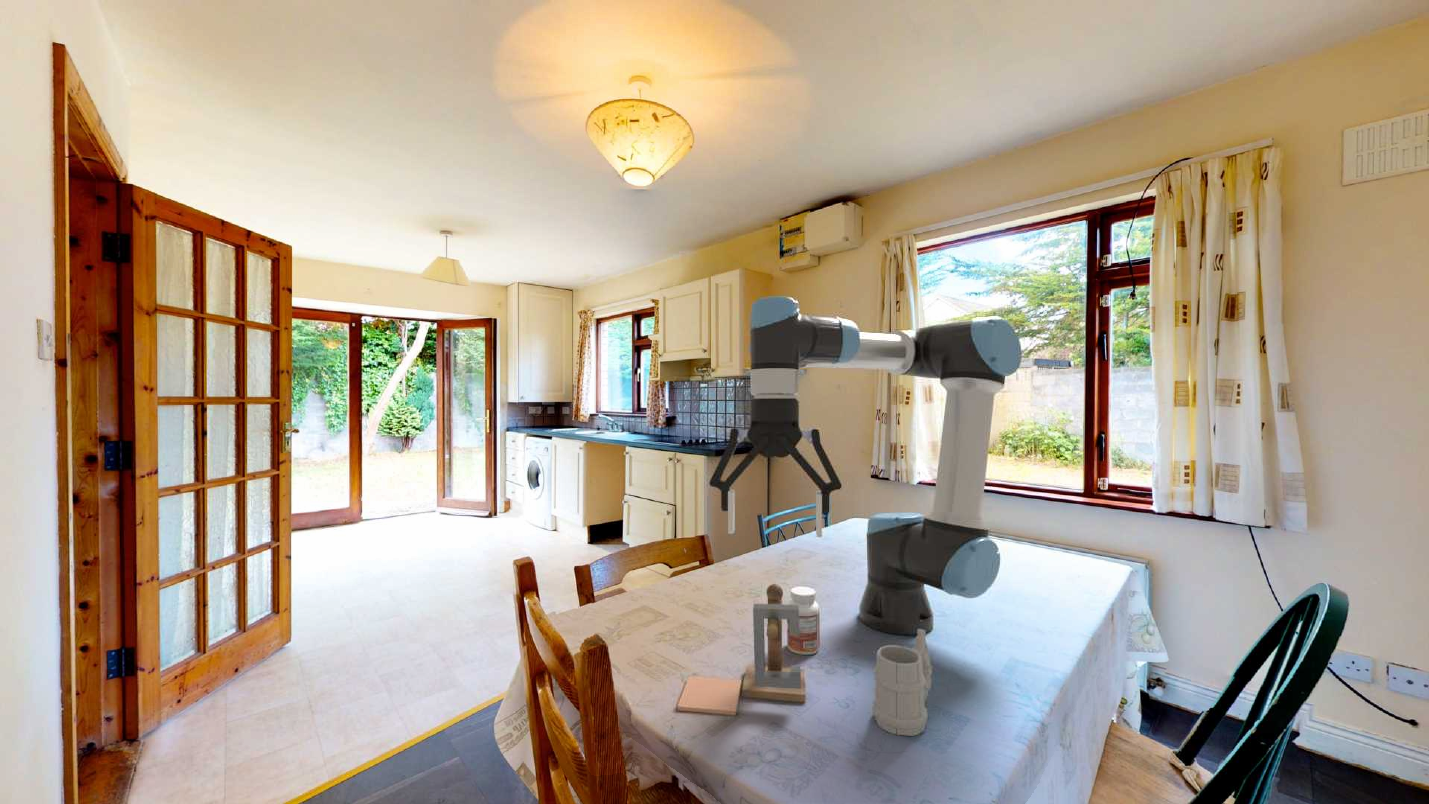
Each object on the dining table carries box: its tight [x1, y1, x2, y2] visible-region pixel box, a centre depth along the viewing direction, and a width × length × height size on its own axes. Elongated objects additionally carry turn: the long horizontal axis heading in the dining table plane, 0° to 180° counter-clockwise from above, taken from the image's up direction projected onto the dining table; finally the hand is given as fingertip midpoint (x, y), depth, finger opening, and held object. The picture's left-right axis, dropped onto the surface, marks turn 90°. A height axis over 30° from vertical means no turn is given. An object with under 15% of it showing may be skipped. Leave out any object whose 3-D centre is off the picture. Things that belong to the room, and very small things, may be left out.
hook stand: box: [741, 583, 807, 703], centre depth 84 cm, size 14×10×16 cm
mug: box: [871, 629, 933, 737], centre depth 78 cm, size 8×12×12 cm, turn 127°
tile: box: [676, 675, 743, 716], centre depth 84 cm, size 9×9×1 cm
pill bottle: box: [786, 586, 821, 656], centre depth 100 cm, size 6×6×11 cm
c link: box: [752, 603, 801, 689], centre depth 81 cm, size 7×2×12 cm, turn 81°
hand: (774, 533), depth 81 cm, fingers open, 13 cm apart
